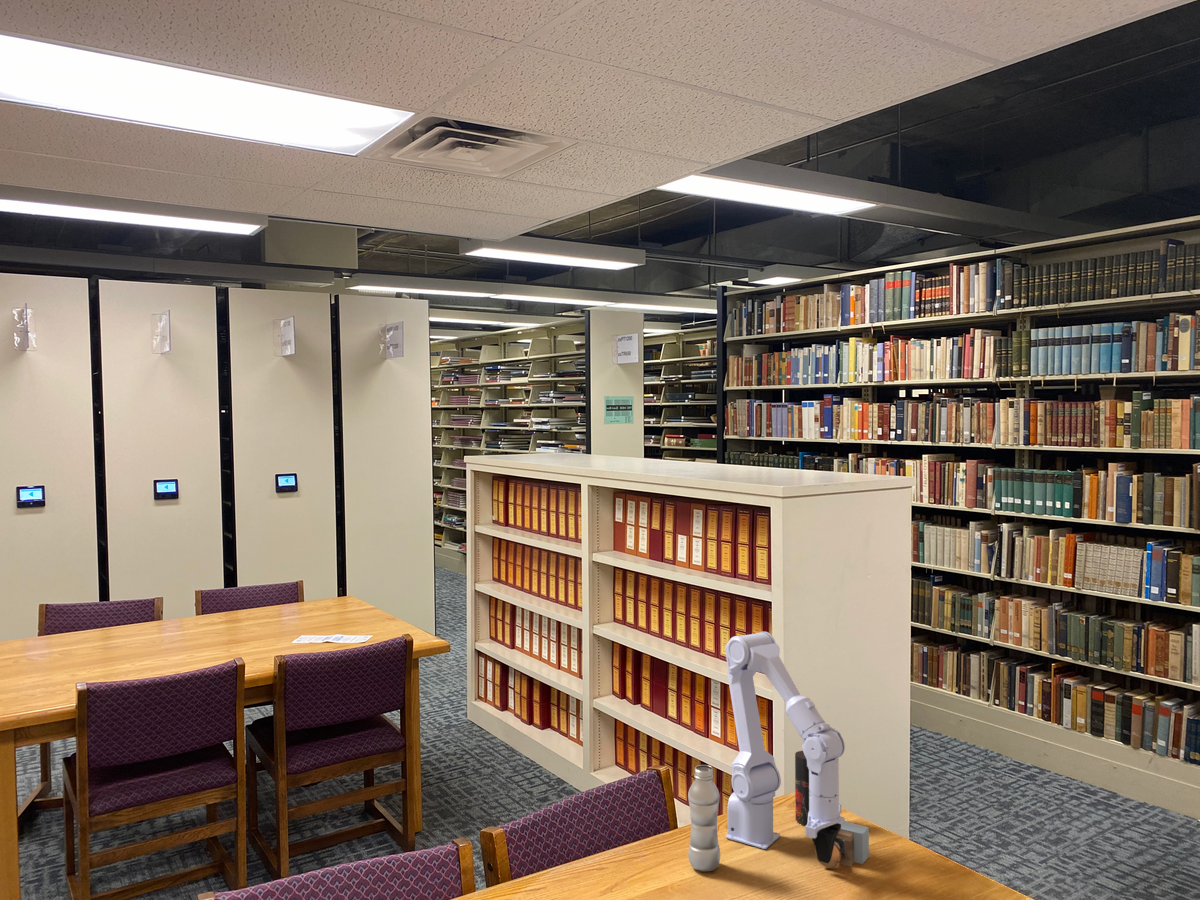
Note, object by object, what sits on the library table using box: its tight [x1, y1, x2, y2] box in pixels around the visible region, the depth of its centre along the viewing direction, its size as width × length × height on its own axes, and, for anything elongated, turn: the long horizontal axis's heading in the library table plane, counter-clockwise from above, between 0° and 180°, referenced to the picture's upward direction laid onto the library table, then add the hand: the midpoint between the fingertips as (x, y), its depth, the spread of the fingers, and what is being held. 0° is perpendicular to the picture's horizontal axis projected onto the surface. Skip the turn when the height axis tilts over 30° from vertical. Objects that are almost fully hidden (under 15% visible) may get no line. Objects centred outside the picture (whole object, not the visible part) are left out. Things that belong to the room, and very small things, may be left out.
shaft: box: [815, 838, 845, 869], centre depth 170 cm, size 11×5×5 cm, turn 144°
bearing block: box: [814, 820, 870, 865], centre depth 172 cm, size 10×4×6 cm, turn 54°
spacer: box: [836, 830, 855, 867], centre depth 169 cm, size 7×2×6 cm, turn 54°
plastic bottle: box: [687, 764, 721, 872], centre depth 166 cm, size 6×7×20 cm
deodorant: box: [794, 750, 809, 827], centre depth 188 cm, size 6×6×15 cm
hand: (824, 860), depth 164 cm, fingers closed
